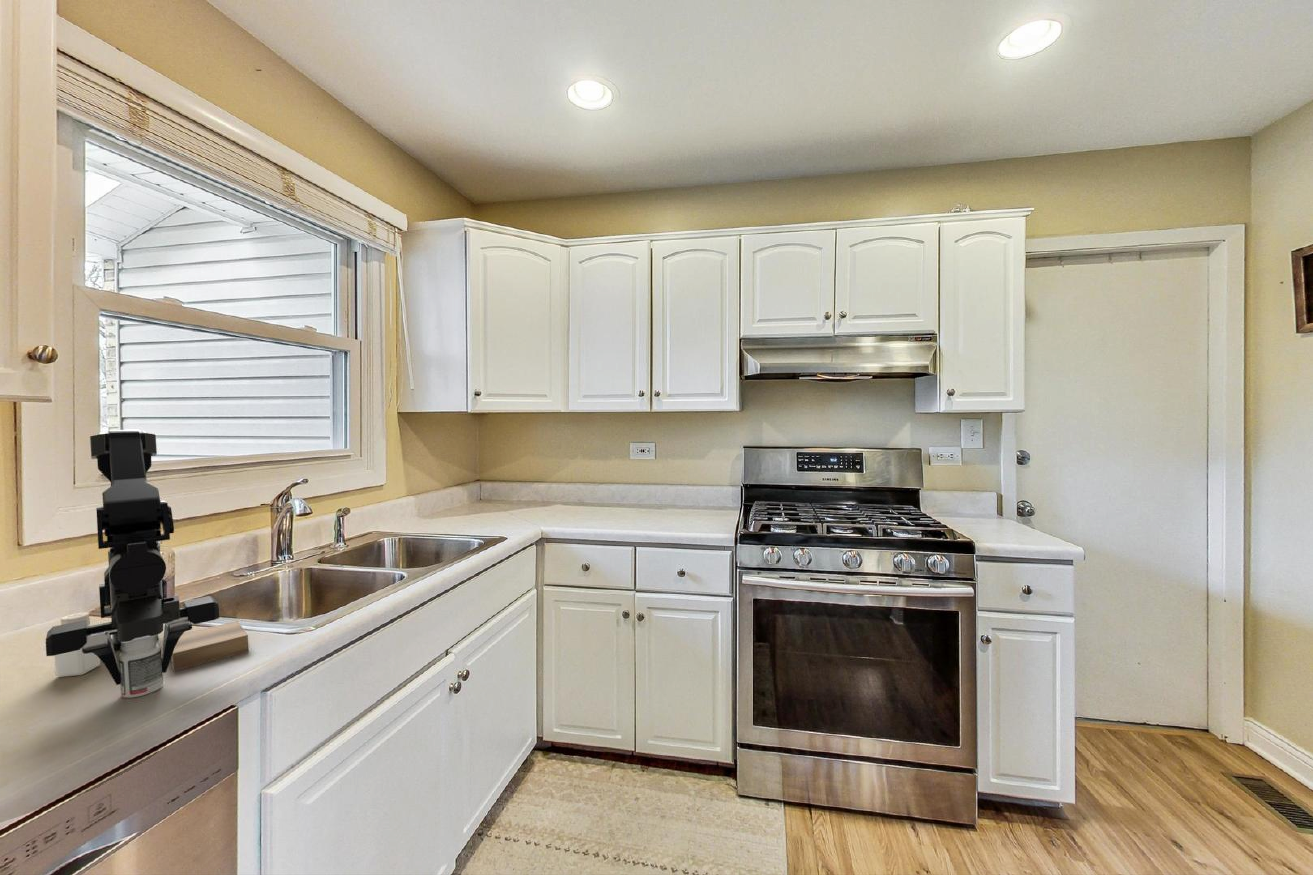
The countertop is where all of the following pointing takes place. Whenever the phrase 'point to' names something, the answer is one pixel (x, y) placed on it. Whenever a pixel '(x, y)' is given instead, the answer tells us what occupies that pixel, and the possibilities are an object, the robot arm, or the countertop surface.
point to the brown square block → (209, 645)
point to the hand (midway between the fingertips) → (141, 677)
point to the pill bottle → (140, 667)
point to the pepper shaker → (75, 654)
